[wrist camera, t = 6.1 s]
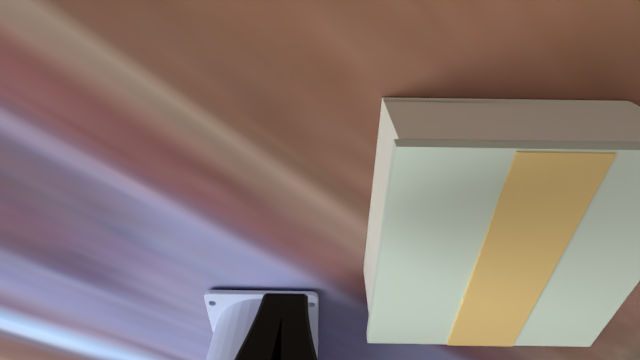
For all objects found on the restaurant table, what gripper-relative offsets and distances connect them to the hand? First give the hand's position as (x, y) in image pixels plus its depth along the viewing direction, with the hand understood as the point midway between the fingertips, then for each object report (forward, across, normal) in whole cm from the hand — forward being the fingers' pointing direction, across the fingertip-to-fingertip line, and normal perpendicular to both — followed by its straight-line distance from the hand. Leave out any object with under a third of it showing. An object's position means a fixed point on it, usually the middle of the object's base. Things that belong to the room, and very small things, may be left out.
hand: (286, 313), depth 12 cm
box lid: (+5, -10, +2) cm, 11 cm away
